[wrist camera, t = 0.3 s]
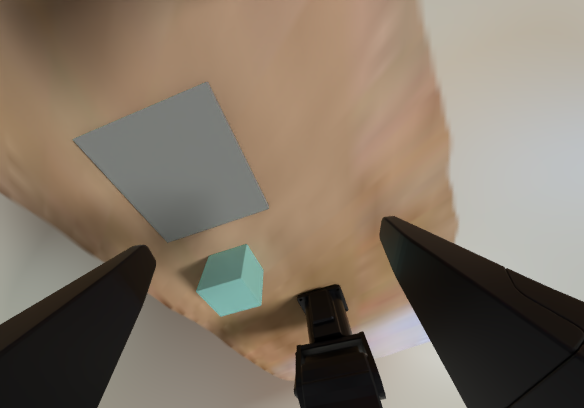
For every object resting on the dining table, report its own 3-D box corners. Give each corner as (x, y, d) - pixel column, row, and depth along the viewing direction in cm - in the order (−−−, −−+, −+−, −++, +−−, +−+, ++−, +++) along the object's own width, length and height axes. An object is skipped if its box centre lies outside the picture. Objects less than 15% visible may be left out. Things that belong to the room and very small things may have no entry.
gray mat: (268, 205, 22) (268, 208, 22) (169, 239, 24) (167, 242, 23) (207, 81, 16) (205, 82, 15) (78, 137, 17) (72, 139, 17)
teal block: (263, 269, 27) (261, 305, 23) (228, 279, 28) (220, 316, 24) (246, 243, 25) (240, 278, 21) (209, 255, 25) (195, 291, 21)
